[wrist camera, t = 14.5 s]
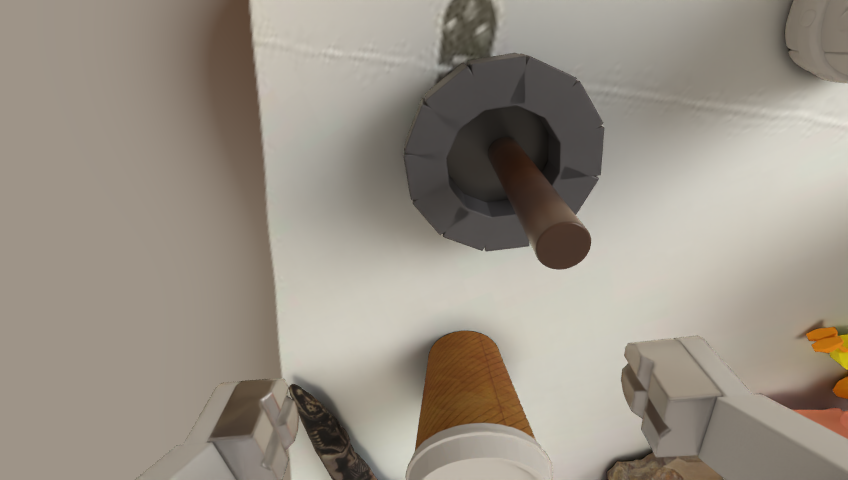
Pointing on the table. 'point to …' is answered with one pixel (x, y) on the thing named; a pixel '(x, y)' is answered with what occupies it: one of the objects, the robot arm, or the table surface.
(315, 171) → the table surface
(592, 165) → the grey stone ring
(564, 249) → the tape post
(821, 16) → the mug
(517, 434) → the disposable coffee cup
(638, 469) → the fossil
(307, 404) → the statue
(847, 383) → the toy figure
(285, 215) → the table surface
